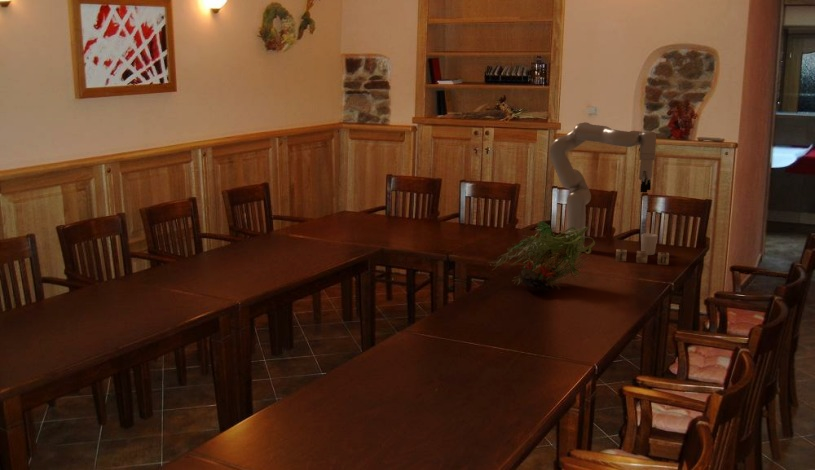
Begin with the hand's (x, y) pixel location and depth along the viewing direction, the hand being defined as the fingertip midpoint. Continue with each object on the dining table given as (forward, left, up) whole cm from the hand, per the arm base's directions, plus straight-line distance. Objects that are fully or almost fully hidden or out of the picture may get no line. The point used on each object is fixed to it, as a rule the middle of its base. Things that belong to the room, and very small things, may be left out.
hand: (645, 191), depth 423 cm
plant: (-71, -46, -34) cm, 91 cm away
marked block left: (-13, -5, -34) cm, 37 cm away
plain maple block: (-4, -9, -34) cm, 35 cm away
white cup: (+8, +7, -34) cm, 35 cm away
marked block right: (+4, -14, -34) cm, 37 cm away
